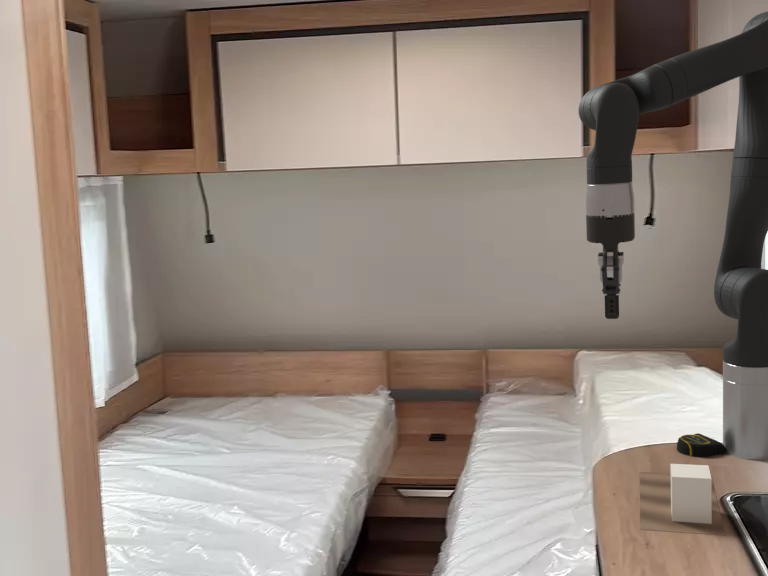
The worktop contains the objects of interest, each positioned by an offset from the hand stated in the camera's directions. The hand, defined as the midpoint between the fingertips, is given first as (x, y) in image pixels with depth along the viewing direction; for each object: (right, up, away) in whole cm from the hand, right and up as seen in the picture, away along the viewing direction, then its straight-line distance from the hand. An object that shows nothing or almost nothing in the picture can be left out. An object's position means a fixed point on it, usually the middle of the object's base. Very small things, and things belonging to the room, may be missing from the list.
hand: (612, 317), depth 136 cm
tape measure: (+18, -25, +10) cm, 33 cm away
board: (+7, -29, -11) cm, 31 cm away
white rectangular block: (+7, -28, -16) cm, 33 cm away
